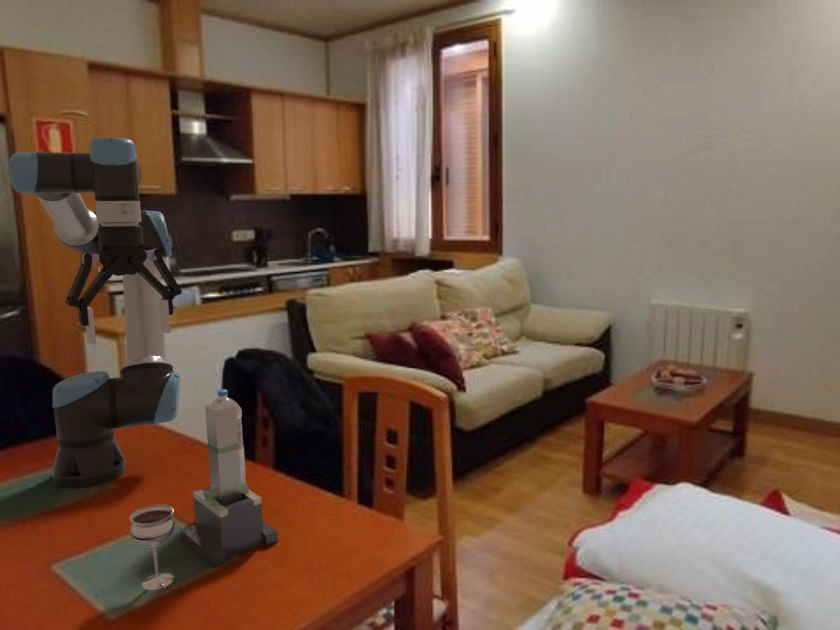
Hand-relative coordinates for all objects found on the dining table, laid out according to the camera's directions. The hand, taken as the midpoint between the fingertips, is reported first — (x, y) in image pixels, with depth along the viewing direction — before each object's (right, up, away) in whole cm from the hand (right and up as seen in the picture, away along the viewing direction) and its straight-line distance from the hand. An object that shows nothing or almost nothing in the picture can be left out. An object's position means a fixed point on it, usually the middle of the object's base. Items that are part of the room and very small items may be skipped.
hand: (130, 337), depth 123 cm
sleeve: (+20, -38, -3) cm, 43 cm away
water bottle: (+16, -36, +10) cm, 40 cm away
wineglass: (+12, -40, -15) cm, 45 cm away
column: (+20, -32, -4) cm, 38 cm away
